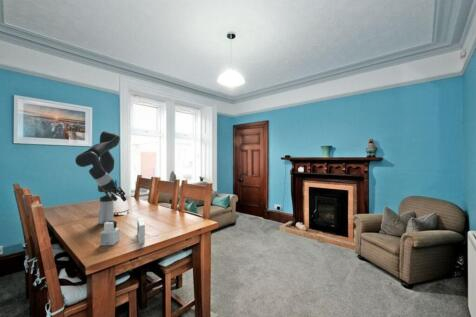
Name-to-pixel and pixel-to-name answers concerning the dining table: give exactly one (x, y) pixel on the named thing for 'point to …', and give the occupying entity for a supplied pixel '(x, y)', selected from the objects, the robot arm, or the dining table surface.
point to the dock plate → (141, 230)
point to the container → (110, 233)
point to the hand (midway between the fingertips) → (120, 200)
